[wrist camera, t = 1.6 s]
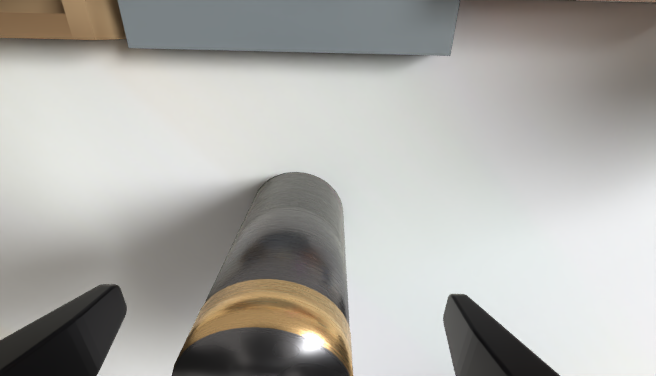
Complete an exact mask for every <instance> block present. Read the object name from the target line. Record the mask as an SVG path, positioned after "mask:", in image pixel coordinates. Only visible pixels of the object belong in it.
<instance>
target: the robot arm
mask: <svg viewBox="0 0 656 376" xmlns="http://www.w3.org/2000/svg"><path fill="white" fill-rule="evenodd" d="M126 311H127V306H126V303H125V300H124V297H123V295H122V292H121V289H120V287H119V286H118V285H115V284H102V285H99V286H97V287H95V288H93V289H92V290H90V291H88V292H86V293H84V294H83V295H81V296H79V297H77V298H75V299H74V300H72V301H70V302H68V303H67V304H65V305H63V306H61V307H59V308H58V309H56V310H54V311H52V312H50V313H49V314H47V315H45V316H43V317H41V318H40V319H38V320H36V321H34V322H32V323H31V324H29V325H27V326H25V327H23V328H22V329H20V330H18V331H16V332H14V333H13V334H11V335H9V336H7V337H6V338H4V339H2V340H0V376H97V374H98V372H99V370H100V368H101V366H102V364H103V362H104V360H105V358H106V356H107V354H108V351H109V349H110V347H111V345H112V343H113V341H114V339H115V337H116V334H117V332H118V330H119V328H120V326H121V324H122V322H123V319H124V317H125V315H126ZM443 321H444V327H445V331H446V336H447V340H448V344H449V349H450V353H451V358H452V362H453V366H454V371H455V375H456V376H560V375H559V374H558V373H556V372H555V371H554V370H553V369H552V368H551V367H549V366H548V365H547V364H546V363H545V362H544V361H542V360H541V359H540V358H539V357H538V356H537V355H536V354H534V353H533V352H532V351H531V350H530V349H529V348H527V347H526V346H525V345H524V344H523V343H522V342H520V341H519V340H518V339H517V338H516V337H515V336H513V335H512V334H511V333H510V332H509V331H508V330H506V329H505V328H504V327H503V326H502V325H501V324H500V323H498V322H497V321H496V320H495V319H494V318H493V317H491V316H490V315H489V314H488V313H487V312H486V311H484V310H483V309H482V308H481V307H480V306H479V305H477V304H476V303H475V302H474V301H473V300H472V299H470V298H469V297H468V296H467V295H465V294H450V295H449V297H448V300H447V304H446V308H445V312H444V317H443Z"/></svg>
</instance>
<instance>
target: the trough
mask: <svg viewBox="0 0 656 376" xmlns="http://www.w3.org/2000/svg"><path fill="white" fill-rule="evenodd" d="M0 38H34V39H76V40H110V39H127V38H126V34H125V30H124V25H123V21H122V17H121V13H120V9H119V4H118V0H0Z"/></svg>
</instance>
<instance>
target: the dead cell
mask: <svg viewBox="0 0 656 376" xmlns="http://www.w3.org/2000/svg"><path fill="white" fill-rule="evenodd" d="M172 376H353V368H352V350H351V333H350V328H349V311H348V293H347V274H346V255H345V237H344V218H343V207H342V203H341V200H340V198H339V196H338V194H337V193H336V191H335V190H334V189H333V188H332V187H331V186H330V185H329V184H328V183H327V182H325V181H324V180H322V179H320V178H318V177H316V176H314V175H311V174H306V173H299V172H292V173H285V174H281V175H278V176H276V177H274V178H272V179H270V180H269V181H267V182H266V183H265V184H264V185H263V186H262V187H261V188H260V189H259V191H258V192H257V194H256V196H255V199H254V201H253V203H252V205H251V207H250V209H249V211H248V213H247V215H246V217H245V220H244V222H243V224H242V226H241V228H240V230H239V232H238V234H237V236H236V239H235V241H234V243H233V245H232V247H231V249H230V251H229V253H228V255H227V257H226V260H225V262H224V264H223V266H222V268H221V270H220V272H219V274H218V276H217V279H216V281H215V283H214V285H213V287H212V289H211V291H210V293H209V295H208V298H207V300H206V302H205V304H204V305H203V307H202V308H201V310H200V312H199V314H198V316H197V318H196V321H195V323H194V325H193V327H192V329H191V331H190V333H189V335H188V337H187V339H186V341H185V344H184V346H183V348H182V350H181V352H180V354H179V356H178V358H177V360H176V362H175V365H174V369H173V373H172Z"/></svg>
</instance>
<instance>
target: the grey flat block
mask: <svg viewBox="0 0 656 376" xmlns="http://www.w3.org/2000/svg"><path fill="white" fill-rule="evenodd" d="M118 4H119V9H120V13H121V17H122V21H123V25H124V30H125V34H126V38H127V42H128V47H129V48H148V49H190V50H231V51H273V52H315V53H357V54H399V55H440V56H450V54H451V49H452V43H453V38H454V32H455V26H456V21H457V15H458V10H459V4H460V0H118Z"/></svg>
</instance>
